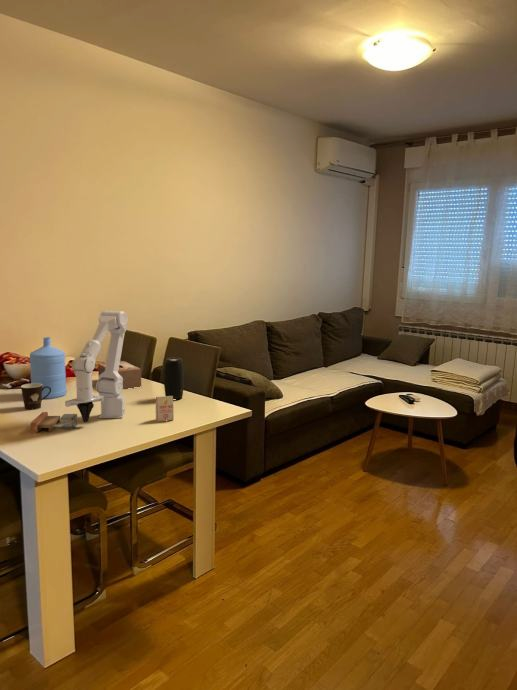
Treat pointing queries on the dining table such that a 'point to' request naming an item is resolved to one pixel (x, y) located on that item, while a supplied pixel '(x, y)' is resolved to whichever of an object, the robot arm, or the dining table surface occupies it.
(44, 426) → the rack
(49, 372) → the water jug
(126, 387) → the tissue box cover
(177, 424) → the dining table surface
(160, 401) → the small printed carton
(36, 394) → the coffee mug
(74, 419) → the open storage bin
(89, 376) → the robot arm
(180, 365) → the portable speaker
